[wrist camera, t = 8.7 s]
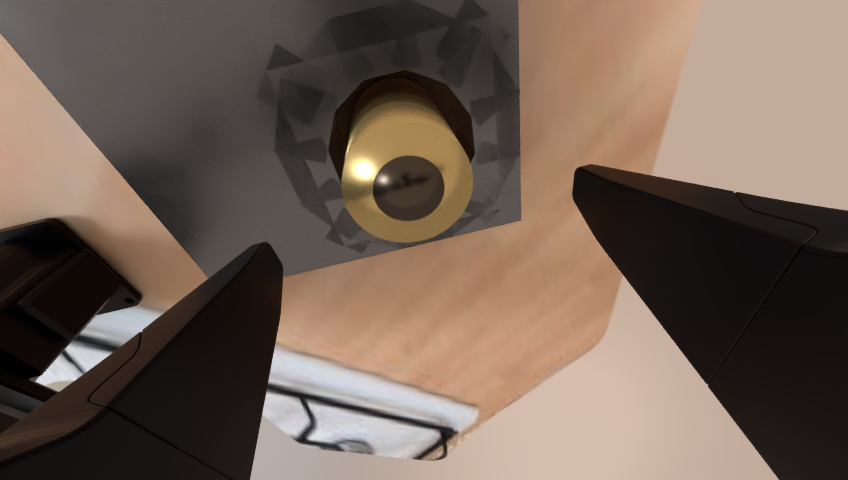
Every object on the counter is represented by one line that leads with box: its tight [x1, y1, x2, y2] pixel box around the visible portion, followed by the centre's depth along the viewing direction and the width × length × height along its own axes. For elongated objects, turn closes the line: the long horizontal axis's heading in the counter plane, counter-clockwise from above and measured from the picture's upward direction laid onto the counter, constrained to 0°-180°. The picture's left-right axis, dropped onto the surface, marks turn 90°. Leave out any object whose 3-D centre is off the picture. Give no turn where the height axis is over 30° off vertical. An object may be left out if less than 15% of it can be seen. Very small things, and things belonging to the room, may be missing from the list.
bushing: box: [341, 78, 473, 243], centre depth 14 cm, size 4×4×7 cm
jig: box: [0, 0, 521, 278], centre depth 13 cm, size 16×16×4 cm
